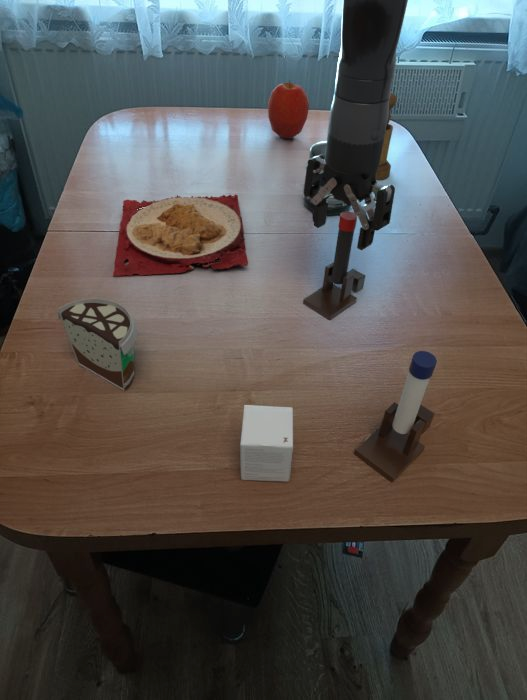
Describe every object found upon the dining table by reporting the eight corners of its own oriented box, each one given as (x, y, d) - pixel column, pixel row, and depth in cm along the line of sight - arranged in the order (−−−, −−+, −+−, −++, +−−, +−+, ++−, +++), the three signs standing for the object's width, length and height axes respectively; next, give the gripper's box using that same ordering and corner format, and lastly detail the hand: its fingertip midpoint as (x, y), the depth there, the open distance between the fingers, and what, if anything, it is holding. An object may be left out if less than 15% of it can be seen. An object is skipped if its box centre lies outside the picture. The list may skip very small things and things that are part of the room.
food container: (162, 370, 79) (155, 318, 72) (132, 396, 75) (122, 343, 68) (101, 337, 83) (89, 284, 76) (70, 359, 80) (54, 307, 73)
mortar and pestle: (355, 172, 127) (368, 92, 115) (373, 165, 131) (387, 86, 118) (377, 182, 124) (393, 101, 111) (395, 174, 127) (412, 94, 115)
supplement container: (330, 188, 121) (337, 135, 113) (362, 209, 115) (371, 154, 107) (292, 200, 116) (297, 145, 108) (323, 222, 110) (330, 166, 102)
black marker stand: (343, 277, 97) (348, 249, 93) (370, 292, 94) (376, 263, 90) (302, 303, 91) (305, 274, 87) (329, 320, 88) (334, 291, 84)
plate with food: (237, 203, 115) (237, 187, 113) (248, 270, 97) (248, 254, 94) (124, 206, 113) (122, 191, 111) (112, 276, 94) (109, 259, 92)
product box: (290, 442, 70) (294, 406, 65) (289, 483, 66) (294, 447, 61) (243, 440, 70) (243, 403, 65) (239, 480, 66) (239, 444, 61)
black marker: (347, 209, 82) (336, 215, 81) (360, 216, 81) (350, 222, 80) (337, 273, 91) (327, 280, 89) (349, 280, 89) (339, 287, 88)
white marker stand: (402, 408, 75) (412, 378, 71) (439, 433, 72) (452, 404, 68) (353, 453, 69) (361, 424, 65) (392, 483, 66) (402, 454, 62)
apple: (266, 143, 137) (268, 85, 127) (267, 127, 144) (269, 71, 135) (306, 145, 137) (312, 87, 127) (305, 129, 144) (310, 73, 135)
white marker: (421, 347, 61) (408, 358, 59) (441, 359, 59) (428, 370, 58) (399, 415, 69) (387, 426, 68) (416, 426, 68) (404, 438, 66)
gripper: (418, 139, 70) (393, 246, 81) (333, 108, 77) (321, 210, 88) (383, 155, 66) (362, 265, 77) (297, 121, 73) (289, 226, 84)
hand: (340, 236), depth 82 cm, fingers open, 8 cm apart
